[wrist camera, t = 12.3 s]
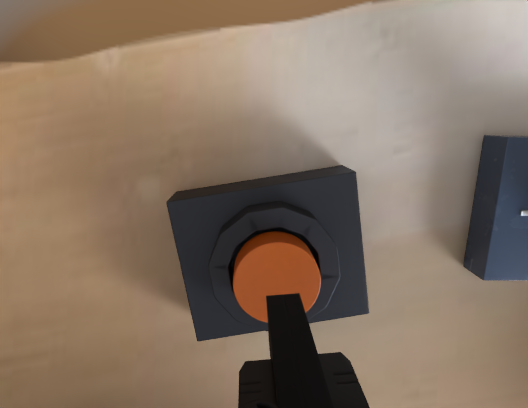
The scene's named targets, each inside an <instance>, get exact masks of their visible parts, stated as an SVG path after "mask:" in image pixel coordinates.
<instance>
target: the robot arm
mask: <svg viewBox="0 0 528 408" xmlns="http://www.w3.org/2000/svg"><path fill="white" fill-rule="evenodd" d="M266 303H267V317H268V332H269V346H270V357H271V359H268V360H257V361H245V363H244V365H243V366H242V368H241V370H240V371H239V404H238V408H370V407H369V405H368V403H367V400H366V398H365V396H364V393H363V391H362V388H361V386H360V384H359V382H358V379H357V376H356V374H355V372H354V369H353V367H352V365H351V362H350V360H348V359H347V358H346V357H345V356H344V355H343V354H342V353H341V352H337V353H325V354H318V353H317V350H316V346H315V343H314V340H313V336H312V333H311V330H310V326H309V323H308V320H307V316H306V313H305V310H304V306H303V303H302V299H301V296H300V293H293V294H281V295H269V296H266Z"/></svg>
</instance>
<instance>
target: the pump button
mask: <svg viewBox="0 0 528 408" xmlns="http://www.w3.org/2000/svg"><path fill="white" fill-rule="evenodd" d="M320 287H321V276H320V271H319V268H318V266H317V264H316V261H315V259H314V257H313V255H312V253H311V251H310V249H309V248H308V247H307V245H306V244H305V243H304V242H303V241H302V240H300V239H299V238H298V237H296V236H294V235H292V234H289V233H286V232H280V231H271V232H265V233H262V234H259V235H257V236H255V237H253V238H252V239H250V240H249V241H248V242H246V243H245V244H244V246H243V247H242V248H241V249H240V251H239V253H238V255H237V257H236V260H235V265H234V275H233V290H234V294H235V297H236V300H237V302H238V303H239V305H240V306H241V308H242V309H243V310H244V311H245V312H246V313H247V314H249V315H250V316H252V317H253V318H255V319H257V320H260V321H263V322H267V323H268V317H267V303H266V296H269V295H281V294H293V293H300V296H301V299H302V303H303V306H304V310H305V313H306V312H307V311H308V310H309V309H310V308H311V307H312V305H313V304H314V303H315V301H316V299H317V297H318V294H319V291H320Z"/></svg>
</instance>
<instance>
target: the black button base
mask: <svg viewBox="0 0 528 408" xmlns="http://www.w3.org/2000/svg"><path fill="white" fill-rule="evenodd" d="M167 207H168V212H169V216H170V221H171V225H172V229H173V234H174V238H175V243H176V247H177V252H178V256H179V261H180V265H181V270H182V274H183V279H184V283H185V288H186V292H187V297H188V301H189V306H190V310H191V315H192V319H193V323H194V328H195V332H196V337H197V341H203V340H210V339H216V338H222V337H228V336H234V335H240V334H246V333H252V332H258V331H268V323H267V322H263V321H260V320H257V319H255V318H253V317H252V316H250V315H249V314H247V313H246V312H245V311H244V310H243V309H242V308H241V306H240V305H239V303H238V302H237V300H236V297H235V294H234V290H233V275H234V265H235V260H236V257H237V255H238V253H239V251H240V249H241V248H242V247H243V246H244V244H245V243H246V242H248V241H249V240H250V239H252V238H253V237H255V236H257V235H259V234H262V233H265V232H271V231H280V232H286V233H289V234H292V235H294V236H296V237H298V238H299V239H300V240H302V241H303V242H304V243H305V244H306V245H307V247H308V248H309V249H310V251H311V253H312V255H313V257H314V259H315V261H316V264H317V266H318V268H319V271H320V276H321V287H320V291H319V294H318V297H317V299H316V301H315V303H314V304H313V305H312V307H311V308H310V309H309V310H308V311H307V312H306V316H307V320H308V323H313V322H319V321H326V320H332V319H338V318H344V317H350V316H356V315H362V314H368V313H369V308H368V297H367V287H366V276H365V266H364V255H363V244H362V234H361V223H360V213H359V202H358V191H357V181H356V172H355V171H353V170H351V169H349V168H347V167H345V166H343V165H341V166H335V167H329V168H323V169H316V170H310V171H304V172H298V173H291V174H285V175H279V176H273V177H266V178H260V179H254V180H247V181H241V182H235V183H229V184H222V185H216V186H210V187H204V188H197V189H191V190H185V191H179V192H176V193H175V194H174V195H173V196H172V197H171V198H170V199H169V200H168V201H167Z"/></svg>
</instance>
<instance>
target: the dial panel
mask: <svg viewBox="0 0 528 408" xmlns="http://www.w3.org/2000/svg"><path fill="white" fill-rule="evenodd" d="M464 267H465V268H466V269H468V270H469V271H471V272H472V273H474V274H475V275H476V276H478V277H479V278H481V279H482V280H528V136H497V135H485V136H484V140H483V146H482V152H481V159H480V165H479V171H478V177H477V184H476V190H475V196H474V203H473V209H472V215H471V222H470V228H469V234H468V241H467V247H466V253H465V259H464Z"/></svg>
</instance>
